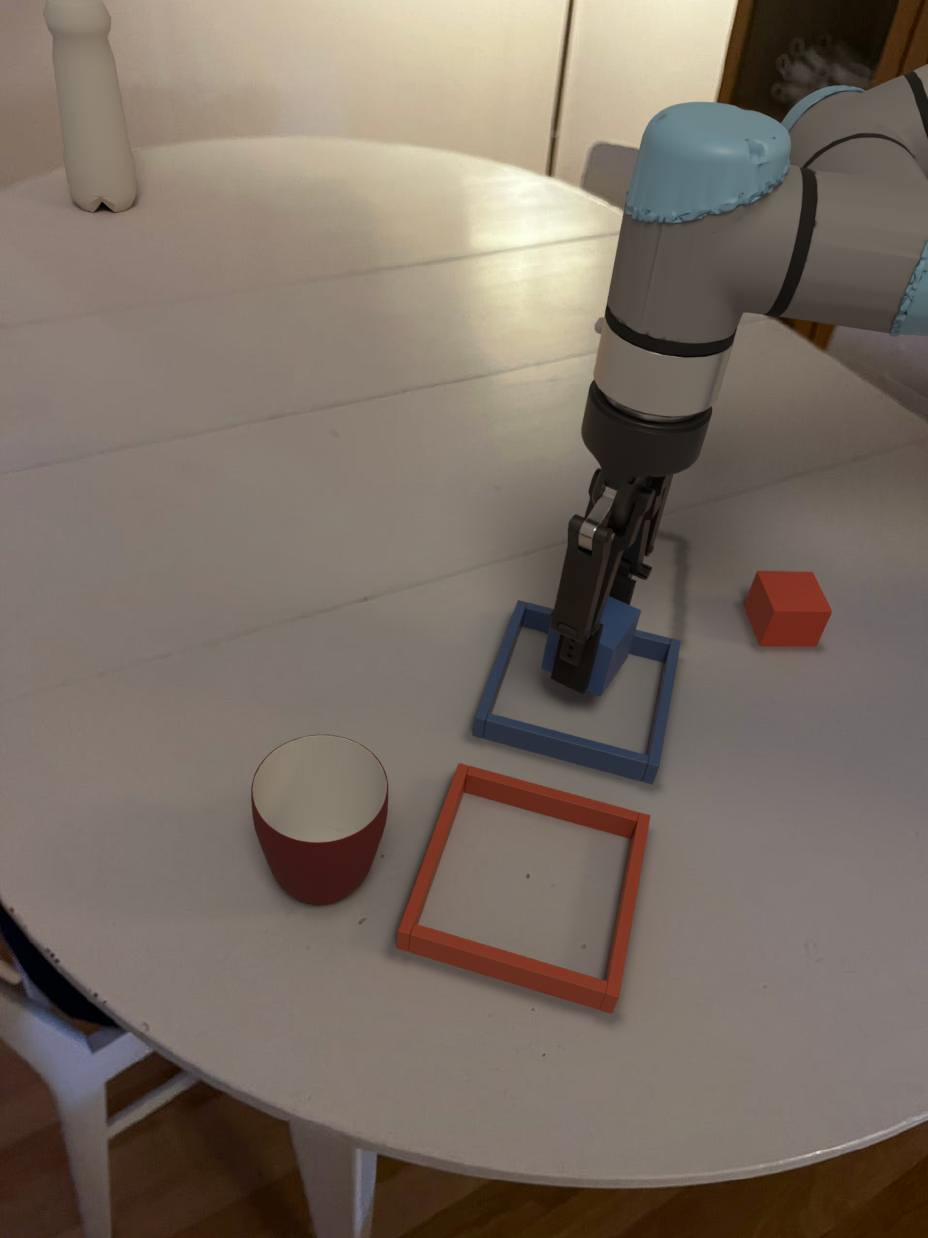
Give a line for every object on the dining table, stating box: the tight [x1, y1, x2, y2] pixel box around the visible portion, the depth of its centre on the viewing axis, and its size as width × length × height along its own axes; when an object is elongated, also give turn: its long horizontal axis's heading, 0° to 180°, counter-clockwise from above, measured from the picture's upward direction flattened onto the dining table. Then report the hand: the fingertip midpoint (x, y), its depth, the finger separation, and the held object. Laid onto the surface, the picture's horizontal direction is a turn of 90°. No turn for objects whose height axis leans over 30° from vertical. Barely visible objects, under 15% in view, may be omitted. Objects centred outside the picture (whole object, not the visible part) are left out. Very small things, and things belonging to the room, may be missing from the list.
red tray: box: [395, 762, 651, 1015], centre depth 66 cm, size 14×14×3 cm
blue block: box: [540, 596, 642, 698], centre depth 75 cm, size 5×5×5 cm
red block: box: [743, 570, 833, 648], centre depth 86 cm, size 5×5×5 cm
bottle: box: [42, 0, 138, 213], centre depth 130 cm, size 9×9×30 cm
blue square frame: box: [472, 599, 682, 786], centre depth 79 cm, size 14×14×3 cm
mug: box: [250, 734, 389, 906], centre depth 64 cm, size 10×8×10 cm
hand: (585, 660), depth 77 cm, fingers closed on blue block, 5 cm apart
